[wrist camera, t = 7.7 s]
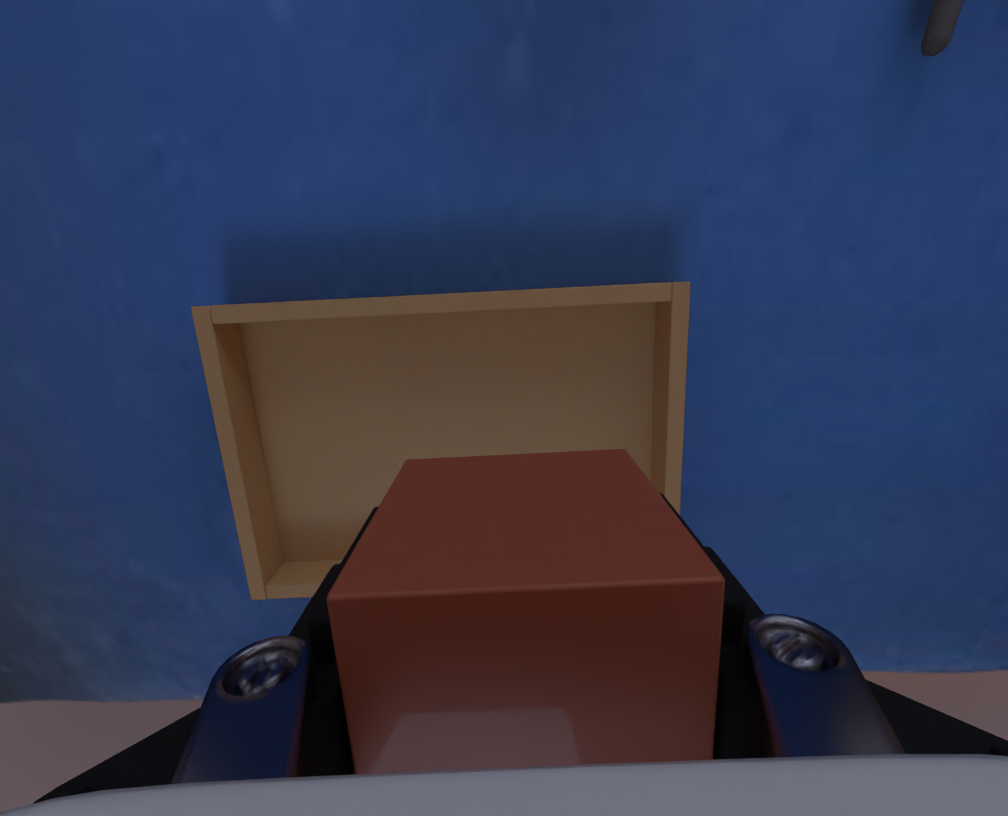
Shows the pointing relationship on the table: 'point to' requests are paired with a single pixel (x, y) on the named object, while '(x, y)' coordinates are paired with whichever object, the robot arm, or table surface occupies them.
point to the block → (526, 619)
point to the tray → (427, 400)
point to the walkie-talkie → (940, 26)
